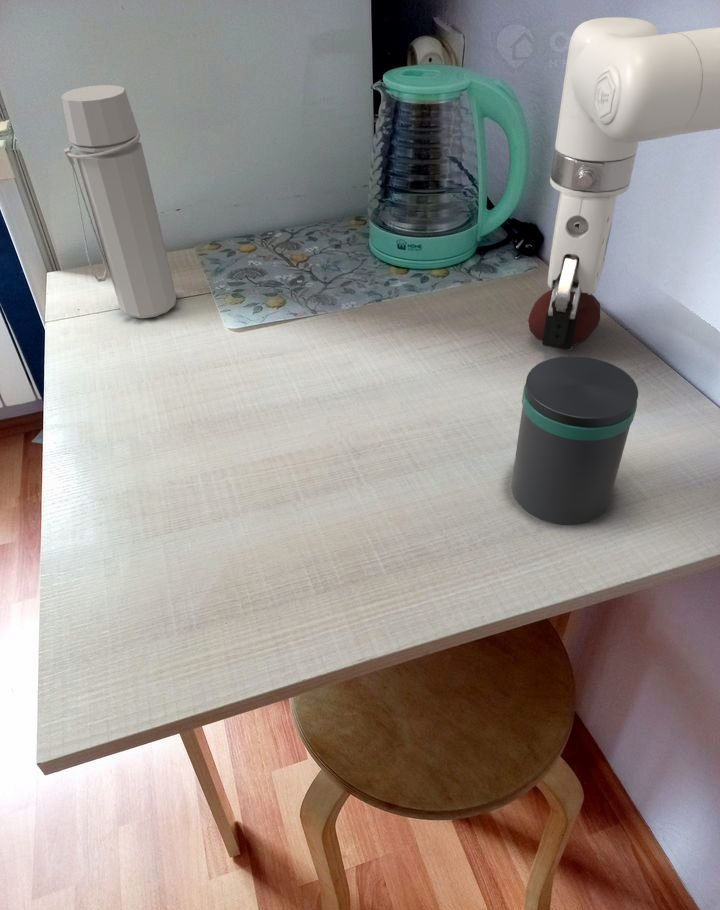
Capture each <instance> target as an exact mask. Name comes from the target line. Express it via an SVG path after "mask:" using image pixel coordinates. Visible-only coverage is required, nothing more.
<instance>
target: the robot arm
mask: <svg viewBox="0 0 720 910" xmlns="http://www.w3.org/2000/svg"><path fill="white" fill-rule="evenodd" d="M567 50H568V51H567V57H566V64H565V70H564V71H565V72H564V77H563V78H564V80H563V86H562V93H561V100H560V108H559V114H558V122H557V130H556V137H555V138H556V139H555V144H554V150H553V156H552V157H553V158H552V165H551V172H550V178H549V184H550V186H551V187H552V188H553V189H554V190H556V191H558V192H559V197H558V201H557V202H558V203H557V209H556V215H555V220H554V221H555V222H554V229H553V235H552V242H551V249H550V250H551V251H550V257H549V264H548V265H549V266H548V273H547V274H548V275H547V286H548V288H549V289H550V290H552V289H553V292H552V297H551V301H550V306H549V311H547V314H546V320H545V327H544V333H543V339H542V341H541V344H542V345H543V346H544V347H547V348H549V347H550V348H553V349H554V348H555V349H561V350H567V351H570V350H571V349H573V346H574V345H573V341H574V336H575V331H576V326H577V320H578V315H576V312H577V307H578V303H579V298H580V294H581V291H582V293H588V295H591V294H592V295H593V294H594V293H596V291H597V288H598V285H599V282H600V279H601V275H602V272H603V269H604V265H605V262H606V261H605V260H606V256H607V250H608V244H609V240H610V236H611V235H610V234H611V230H612V227H613V225H612V224H613V220H614V215H615V210H616V204H617V198H618V197H617V196H620V195H622V194H624V193H625V192H627V191H628V190H629V188H630V185H631V179H632V174H633V170H634V166H635V161H636V156H637V151H638V147H639V143H640V142H647V141H653V140H658V139H665V138H671V137H675V136H680V135H686V134H687V135H688V134H693V133H699V132H706V131H713V130H718V129H719V130H720V26H719V27H710V28H701V29H693V30H686V31H678V32H672V33H666V34H660V32H659V30H658V28H657V26H656V25H654V24H653V23H652V22H650V21H647V20H645V19H641V18H635V17H634V18H633V17H625V16H624V17H622V16H611V17H610V16H609V17H608V16H607V17H599V18H598V17H597V18H592V19H589V20H586V21H583V22H582V23H580V24H579V25H578V26H577V27H576V28H575V29H574V31H573V33H572V35H571V37H570V40H569V45H568V49H567ZM572 286H577V287H572ZM570 294H574V299H573V303H572V301H569V298H570Z"/></svg>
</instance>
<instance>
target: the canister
mask: <svg viewBox="0 0 720 910" xmlns="http://www.w3.org/2000/svg"><path fill="white" fill-rule="evenodd" d="M521 397H522V398H521V406H522V407H521V415H520V421H519V429H518V435H517V442H516V448H515V449H516V450H515V457H514V463H513V471H512V479H511V491H512V495H513V497H514V499H515V500H516V502H517V504H518V505H519V506H520V507H521V508H523V510H524V511H526V512H527V513H528V514H530V515H532V516H534V517H535V518H538V519H540V520H543V521H545V522H549V523H553V524H557V525H571V526H572V525H581V524H585V523H588V522H591V521H593V520H596V519H597V518H599V517H600V516H602V514H604V513H605V512H606V511H607V509H608V507H609V506H610V502H611V499H612V494H613V490H614V486H615V483H616V480H617V476H618V473H619V468H620V465H621V461H622V457H623V454H624V449H625V447H626V442H627V439H628V436H629V432H630V428H631V425H632V424H633V421H634V418H635V415H636V411H637V407H638V398H639V389H638V385H637V383H636V381H635V380H634V379H633V378H632V377H631V375H630V374H628V373H627V372H626V371H624V370H623V369H622V368H620V367H618V366H617V365H615V364H613V363H610V362H607V361H605V360H603V359H602V360H601V359H598V358H594V357H591V356H590V357H589V356H582V355H581V356H580V355H563V356H557V357H556V356H555V357H552V358H549V359H545V360H543V361H541V362H539V363H537V364H536V365H535V366H534V367H532V368H531V369H530V370H529V372H528V373H527V376H526V379H525V383H524V386H523V390H522V396H521Z"/></svg>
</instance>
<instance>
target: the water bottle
mask: <svg viewBox="0 0 720 910" xmlns="http://www.w3.org/2000/svg"><path fill="white" fill-rule="evenodd" d="M61 102H62V109H63V113H64V118H65V119H64V120H65V123H66V129H67V135H68V139H69V142H70V143H71V144H70V145H68V147H66V148H64V149H63V152H64V153H65V156H66V157H67V159H68V161H69V163H70V167H71V172H72V179H73V184H74V190H75V195H76V200H77V207H78V212H79V217H80V222H81V228H82V229H81V230H82V234H83V239H84V245H85V253H86V256H87V257H86V258H87V262H88V264H89V267H90V269H91V271H92V274H93V276H94V278H95V279H96V281H97V283H100V282H106V281H107V278H108V272H109V275H110V278H111V283H112V286H113V289H114V293H115V296H116V300H117V303H118V306H119V309H120V310H121V311H122V312H123V313H125V314H126V315H128V316H129V317H130V318H136V319H149V318H155V317H159V316H161V315H164V314H166V313H168V312H169V311H170V310H171V309H173V307H175V305H176V303H177V293H176V288H175V284H174V280H173V276H172V271H171V267H170V262H169V257H168V254H167V249H166V245H165V241H164V236H163V231H162V228H161V224H160V218H159V215H158V209H157V206H156V200H155V198H154V193H153V187H152V183H151V180H150V175H149V171H148V170H149V169H148V166H147V162H146V158H145V153H144V149H143V145H142V142H140V139H141V131H140V130H139V129H138V125H137V122H136V119H135V116H134V113H133V110H132V107H131V103H130V101H129V98H128V94H127V91H126V89H125V87H122V86H120V85H114V84H99V85H88V86H83V87H79V88H74V89H71V90H68V91H66V92H64V93H63V94H62V95H61ZM73 148H74V149H75V150H76V152H75V153H74V154H73V153H72V152H71V150H72V149H73ZM74 159H76V162H77V164H78V167H79V172H80V175H81V179H82V182H83V185H84V189H85V193H86V196H87V199H88V203H89V206H90V209H91V213H92V217H91V213H90V211H89V207H88V205H87V202H86V198H85V196H84V192H83V190H82V186H81V184H80V180H79V178H78V175H77V171H76V168H75V160H74ZM76 182H77V183H76ZM77 185H78V187H77ZM78 188H79V191H80V194H81V197H82V200H83V203H84V206H85V210H86V212H87V216H88V218H89V222H90V225H91V228H92V232H93V235H94V236H95V241H96V244H97V247H98V250H99V253H100V256H101V259H102V263H103V266H104V273H103V276H101V277H98V275H97V274H96V273H95V270H94V268H93V266H92V263H91V259H90V258H91V257H90V253H89V247H88V241H87V237H86V236H87V235H86V231H85V225H84V221H83V215H82V211H81V210H82V209H81V205H80V204H81V203H80V198H79V193H78ZM92 218H93V220H94V223H93V220H92ZM94 224H95V226H96V229H95V226H94ZM97 234H98V235H97Z"/></svg>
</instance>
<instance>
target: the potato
mask: <svg viewBox="0 0 720 910" xmlns="http://www.w3.org/2000/svg"><path fill="white" fill-rule="evenodd" d="M572 287H577V286H572ZM552 292H553V289H550V290H548V291H546V292H544V293H543V294H542V295H540V296H539V298H538V299H537V300H536V301H535V302H534V304H533V306H532V307H531V310H530V313H529V315H528V319H527V322H528V327H529V328H528V329H529V331H530V333H531V334H532V335H533V336H534V337H535V339H537V340H538V341H541V342H542V339H543V333H544V327H545V320H546V314H547V311H549V306H550V301H551V297H552ZM573 299H574V294H570V298H569V301H572V303H573ZM576 315H578V320H577V326H576V331H575V336H574V341H573V346H575V345H578V344H581V343H582V342H585V341H586V340H588V339H589V338H590V337H591V335H592V334H593V333H594V332H595V330H596V329H597V327H598V326H599V324H600V322H601V321H600V320H601V303H600V301H599V300H598V299H597V298H596V297H595V295H593V294H591V295H588V293H582V291H581V294H580V298H579V303H578V307H577V312H576Z"/></svg>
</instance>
